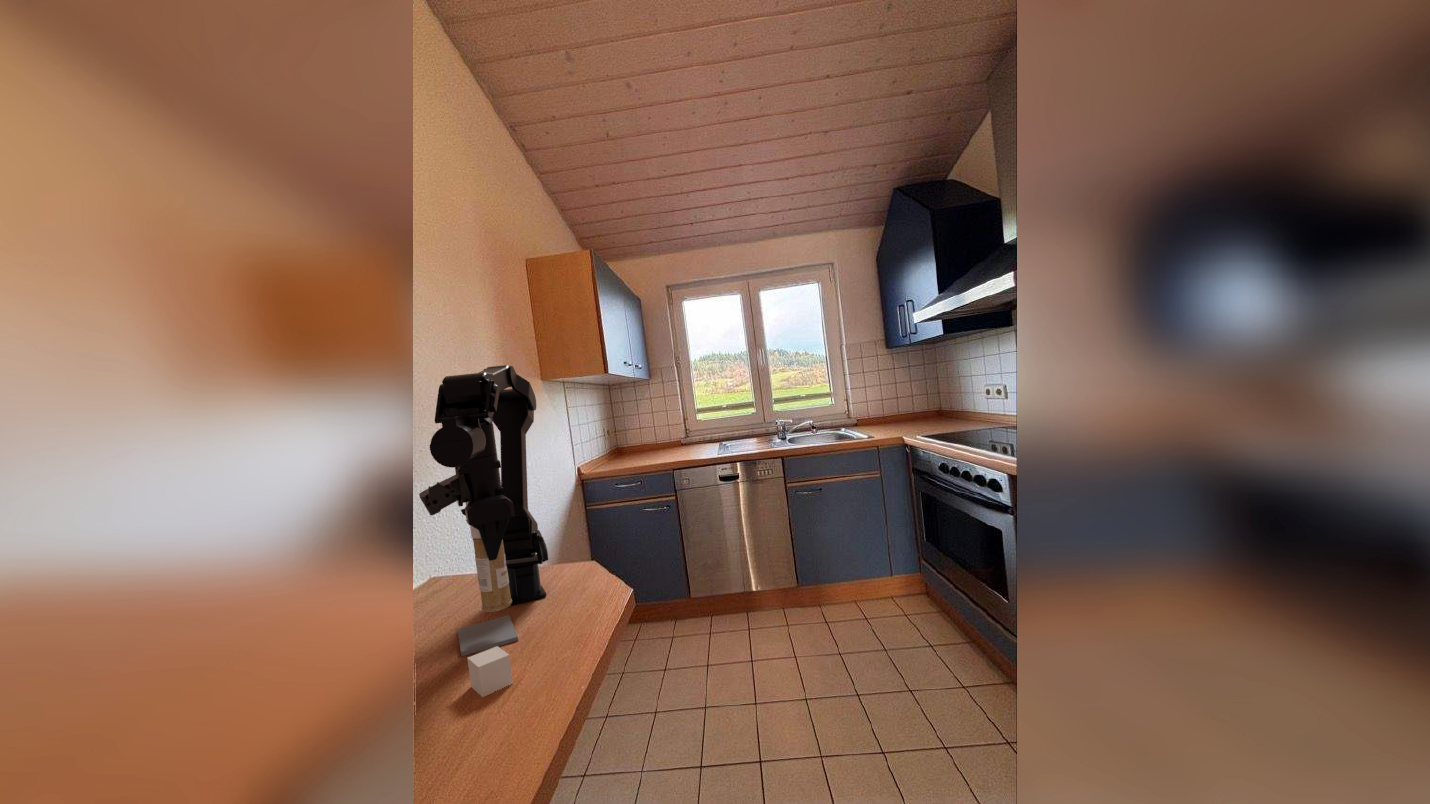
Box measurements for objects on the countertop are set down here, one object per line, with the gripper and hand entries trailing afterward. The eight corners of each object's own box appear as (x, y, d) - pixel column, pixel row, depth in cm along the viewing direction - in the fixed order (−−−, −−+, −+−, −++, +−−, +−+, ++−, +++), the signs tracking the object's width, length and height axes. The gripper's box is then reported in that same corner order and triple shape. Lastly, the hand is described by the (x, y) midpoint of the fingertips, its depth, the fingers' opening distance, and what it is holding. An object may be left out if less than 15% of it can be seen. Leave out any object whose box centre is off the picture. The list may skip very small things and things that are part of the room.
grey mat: (457, 632, 98) (457, 628, 98) (509, 618, 101) (508, 615, 101) (461, 656, 89) (461, 652, 89) (518, 640, 92) (517, 636, 92)
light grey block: (471, 687, 80) (467, 657, 79) (501, 674, 82) (497, 646, 82) (482, 697, 76) (478, 667, 76) (513, 684, 79) (509, 654, 79)
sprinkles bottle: (516, 606, 94) (505, 520, 93) (485, 616, 91) (473, 528, 90) (507, 598, 97) (496, 516, 96) (478, 607, 95) (466, 523, 94)
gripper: (416, 458, 97) (430, 554, 98) (420, 473, 80) (437, 587, 82) (490, 447, 102) (502, 538, 103) (508, 458, 86) (522, 566, 87)
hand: (490, 556), depth 94 cm, fingers closed on sprinkles bottle, 4 cm apart
